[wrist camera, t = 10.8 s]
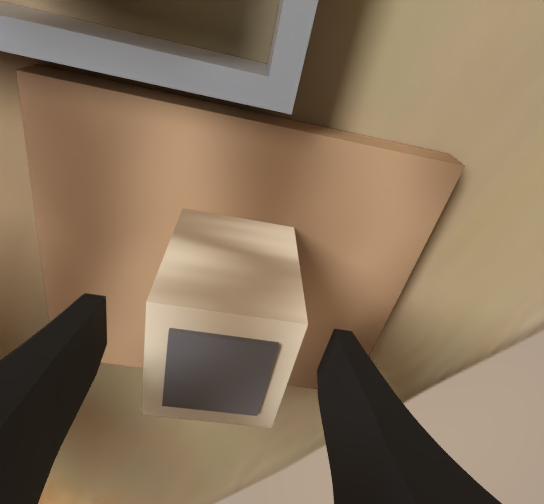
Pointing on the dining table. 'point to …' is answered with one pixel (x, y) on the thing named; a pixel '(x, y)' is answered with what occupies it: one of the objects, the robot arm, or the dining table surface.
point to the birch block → (223, 321)
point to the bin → (168, 55)
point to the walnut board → (219, 201)
